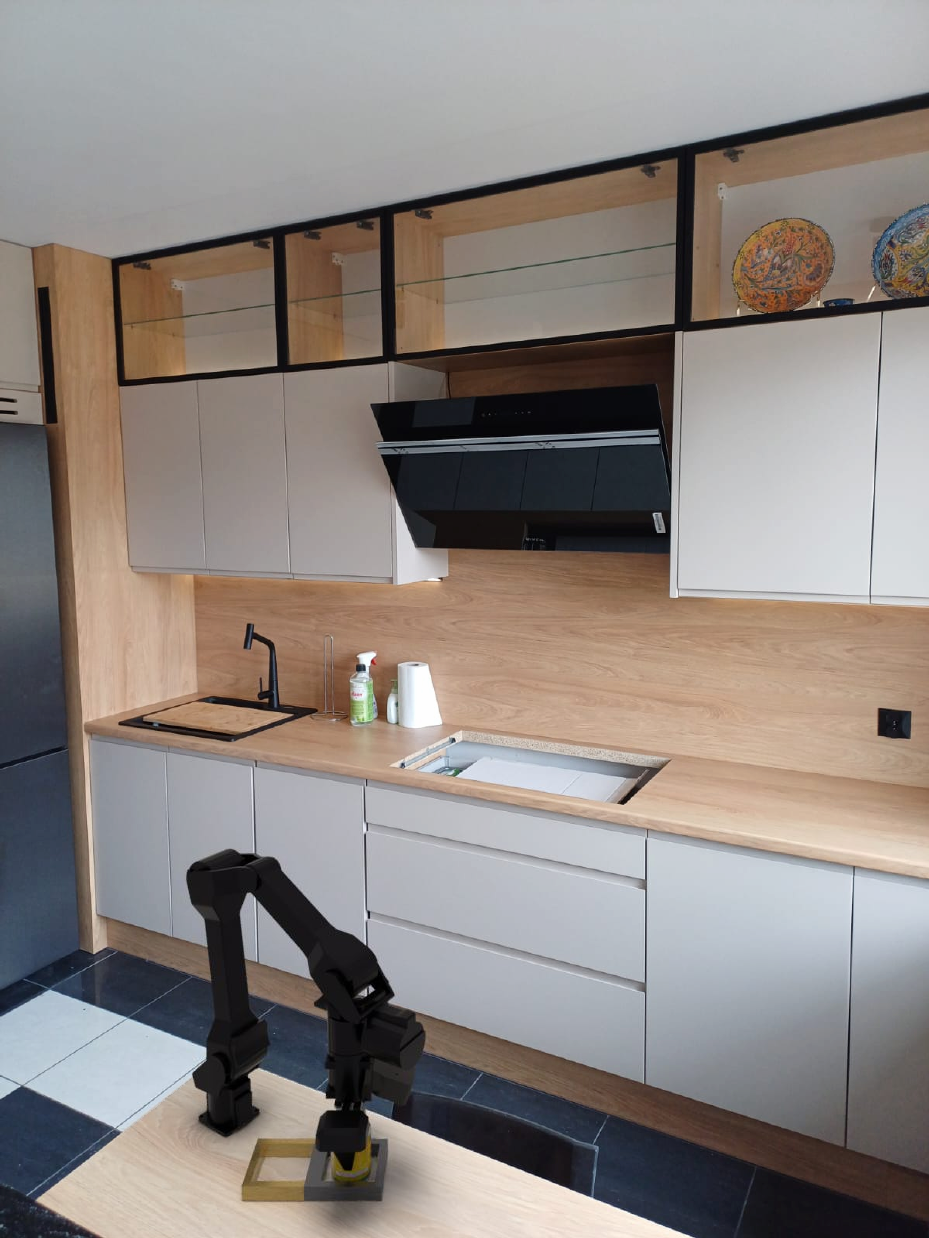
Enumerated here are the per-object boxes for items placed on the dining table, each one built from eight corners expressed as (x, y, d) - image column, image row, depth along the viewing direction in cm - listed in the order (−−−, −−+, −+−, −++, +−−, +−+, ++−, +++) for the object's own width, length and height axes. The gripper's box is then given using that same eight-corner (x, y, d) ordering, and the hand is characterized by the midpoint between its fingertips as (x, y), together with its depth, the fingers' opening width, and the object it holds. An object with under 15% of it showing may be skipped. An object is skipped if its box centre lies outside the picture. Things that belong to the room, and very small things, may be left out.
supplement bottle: (325, 1169, 118) (324, 1102, 117) (362, 1156, 121) (361, 1090, 120) (339, 1196, 114) (338, 1126, 113) (377, 1181, 116) (377, 1113, 115)
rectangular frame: (241, 1200, 113) (241, 1186, 113) (258, 1151, 122) (257, 1138, 122) (381, 1201, 113) (381, 1186, 113) (387, 1151, 122) (387, 1138, 122)
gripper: (405, 1088, 106) (406, 1208, 108) (415, 1005, 125) (415, 1108, 126) (313, 1087, 106) (315, 1207, 108) (336, 1005, 125) (338, 1108, 126)
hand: (351, 1154), depth 117 cm, fingers closed on supplement bottle, 5 cm apart
